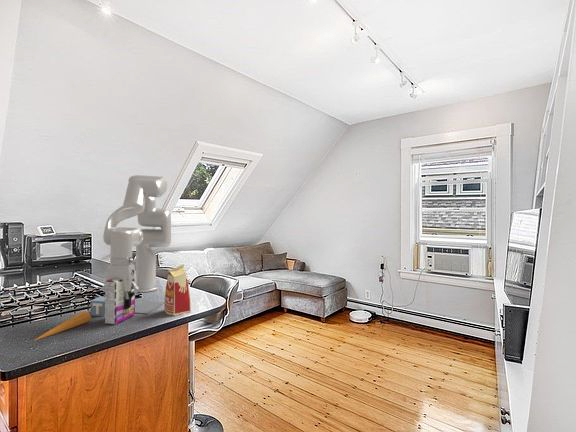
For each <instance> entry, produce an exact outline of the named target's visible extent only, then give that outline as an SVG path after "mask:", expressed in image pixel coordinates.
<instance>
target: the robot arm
mask: <svg viewBox="0 0 576 432" xmlns="http://www.w3.org/2000/svg"><path fill="white" fill-rule="evenodd" d="M167 189H168V181H167V179H166V178H165V177H164V176H156V175H154V176H153V175H131V176H129V178H128V183H127V186H126V191H125V195H124V200H123V204H122V205H121V206H120V207H118V208H117V209H116V210H114V211H113V212H112V213H111V214H110V216H108V218H107V220H106V224H105V226H104V230H103V239H102V240H103V242H104V243H105V245H107V246H110V248H109V249H110V251H109V252H110V253H109V254H110V257H109V263H110V264H108V267H107V271H106V279H105V281H106V280H110V279H120V280H122V286H123V292H124V293H125V296H126V299H125V301H124V309H125V310H127V309H129V308H130V307H131V298H132V297H133V296H134V295H135V296H136V294H137V293H148V292H154V291H157V290H159V287H160V286H159V285H158V284H156V283H157V282H158V281H159V278H156V276H157V275H156V273H157V255H156V252H155V251H154V249H153V248H168V247H169V246H170V245H171V242H172V214H171V213H170V210H168V209H166V208H156V198H162V196H163V195H164V194H165V193H167ZM133 217H137V223H138V225H139V226H141V227H148V228H141V229H140V228H138V227H118V225H119V224H120V223H121V222H123V221H124V220H128V219H130V218H133ZM149 227H150V228H149ZM133 247H135V251H136V253H135V255H136V256H135V257H136V258H135V259H136V260H135V259H133ZM134 263H135V264H134ZM131 289H134V291H133V292H132V290H131ZM101 290H102V291H103V292H104V293H105V283H104V284H103V285H102V287H101Z"/></svg>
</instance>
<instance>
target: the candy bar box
mask: <svg viewBox="0 0 576 432" xmlns="http://www.w3.org/2000/svg"><path fill="white" fill-rule="evenodd" d="M104 284H105V292H104V297H105V316H104V324H107V325H113V324H114V326H115V325H118V324H121V323H122V322H123V321H126V320H128V319H129V318H131V317H134V316H135V315H136V313H135V305H136V294H135V295H134V296H133V297H132V298H131V307H130V308H129V309H127V310H125V309H124V301H125V299H126V296H125V293H124V292H123V286H122V280H120V279H110V280H106V279H105V281H104ZM131 290H132V292H133V291H134V289H131Z"/></svg>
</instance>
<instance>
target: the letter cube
mask: <svg viewBox="0 0 576 432" xmlns="http://www.w3.org/2000/svg"><path fill="white" fill-rule="evenodd" d="M89 314H90V315H91V316H97V317H105V295H104V296H100V295H99V296H97V297H96V298H94V299H91V300H90V312H89Z"/></svg>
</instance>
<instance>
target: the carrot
mask: <svg viewBox="0 0 576 432" xmlns="http://www.w3.org/2000/svg"><path fill="white" fill-rule="evenodd" d="M91 319H92V315H90V312H89V311H81V312H79V313H78V314H75V315H74V316H72V317H70V318H68V319H67V320H65V321H63V322H62V323H60V324H59V325H56V326H55V327H53V328H52V329H50V330H48V331H46V332H44V334H43V333H42V335H40V336H38V337H37V338H35V339H33V342H34V341H38V340H40V339H44V338H47V337H50V336H53V335H55V334H59V333H61V332H65V331H68V330H70V329H73V328H76V327H79V326H82V325H83V324H84V325H85V324H87V323H88V322H90V320H91Z"/></svg>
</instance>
